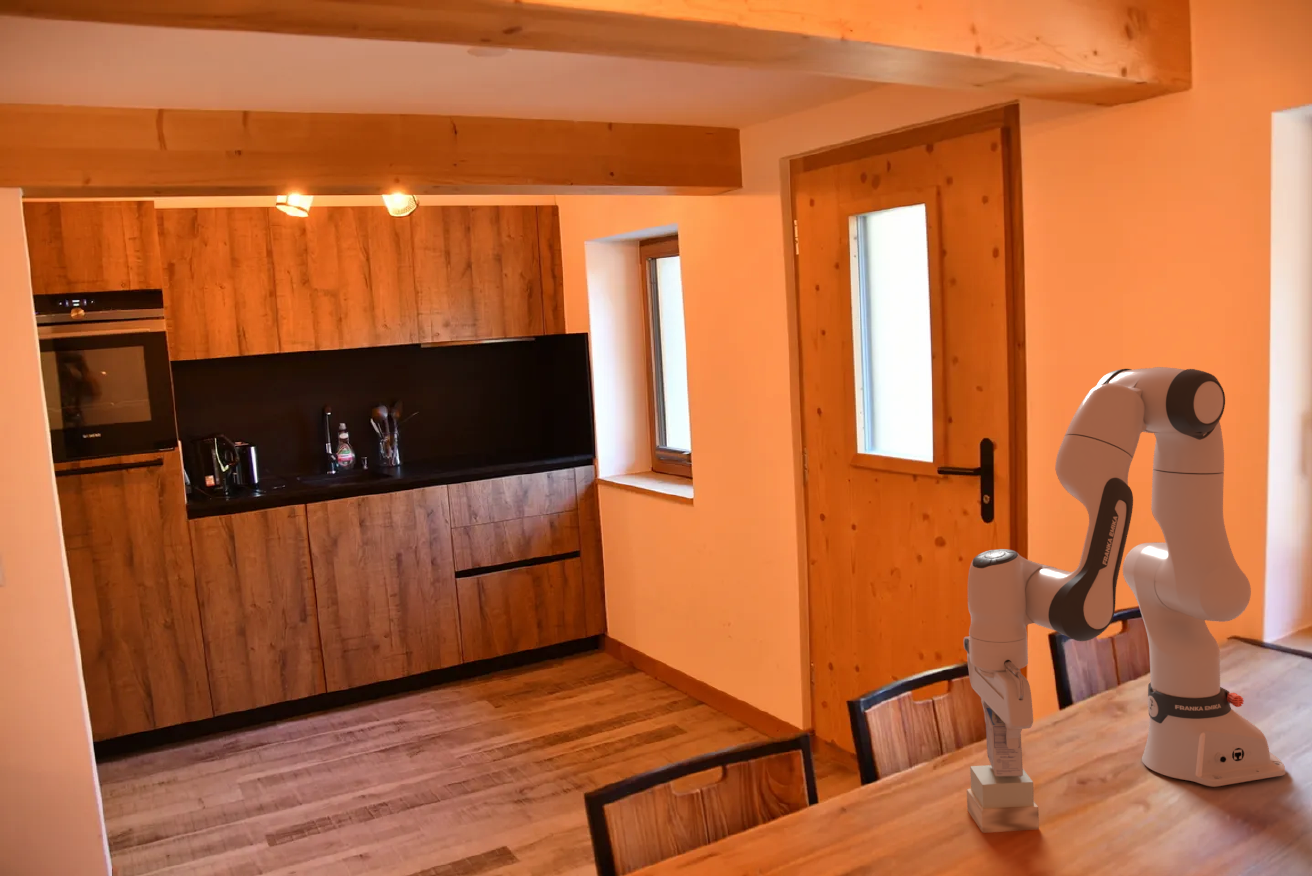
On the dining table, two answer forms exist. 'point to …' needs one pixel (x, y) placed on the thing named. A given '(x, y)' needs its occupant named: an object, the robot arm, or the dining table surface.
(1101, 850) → the dining table surface
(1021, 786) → the tower top
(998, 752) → the medicine box
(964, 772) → the dining table surface
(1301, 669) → the dining table surface
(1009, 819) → the tower base
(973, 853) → the dining table surface
